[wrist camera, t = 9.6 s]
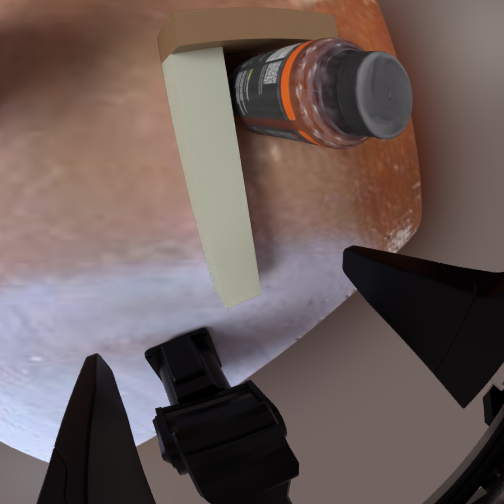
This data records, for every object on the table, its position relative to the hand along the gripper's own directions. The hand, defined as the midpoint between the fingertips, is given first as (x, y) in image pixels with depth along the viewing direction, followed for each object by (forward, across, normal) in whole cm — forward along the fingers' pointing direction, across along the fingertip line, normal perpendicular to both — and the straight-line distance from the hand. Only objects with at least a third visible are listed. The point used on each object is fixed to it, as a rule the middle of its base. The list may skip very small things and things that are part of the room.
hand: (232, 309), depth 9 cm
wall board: (+13, -7, -1) cm, 14 cm away
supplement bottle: (+13, -8, -6) cm, 16 cm away
